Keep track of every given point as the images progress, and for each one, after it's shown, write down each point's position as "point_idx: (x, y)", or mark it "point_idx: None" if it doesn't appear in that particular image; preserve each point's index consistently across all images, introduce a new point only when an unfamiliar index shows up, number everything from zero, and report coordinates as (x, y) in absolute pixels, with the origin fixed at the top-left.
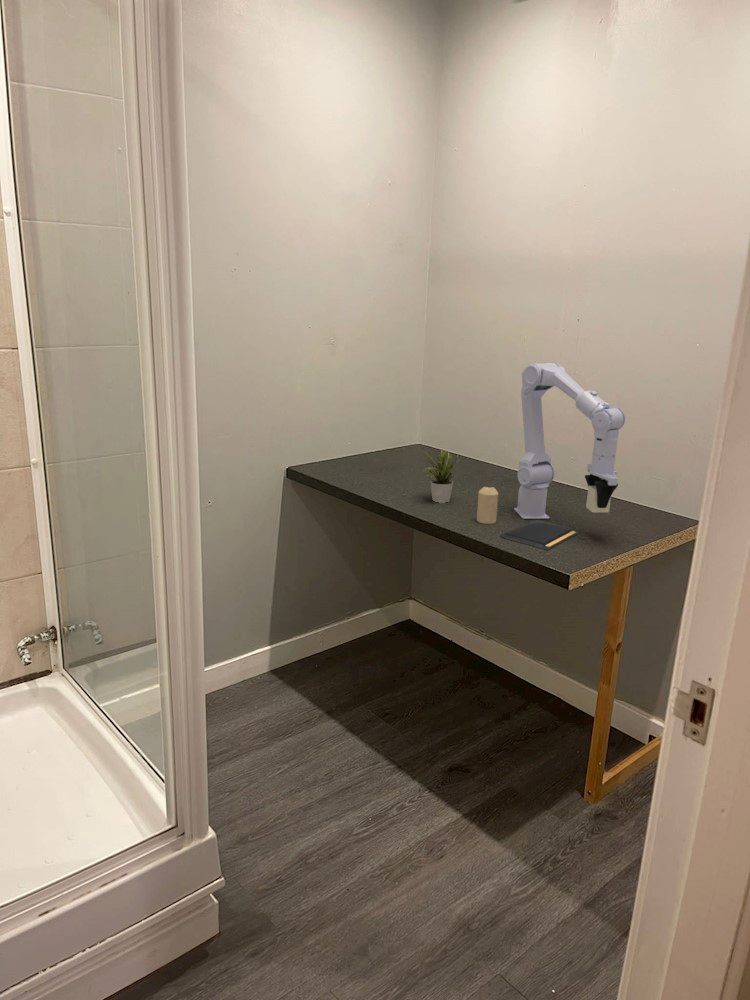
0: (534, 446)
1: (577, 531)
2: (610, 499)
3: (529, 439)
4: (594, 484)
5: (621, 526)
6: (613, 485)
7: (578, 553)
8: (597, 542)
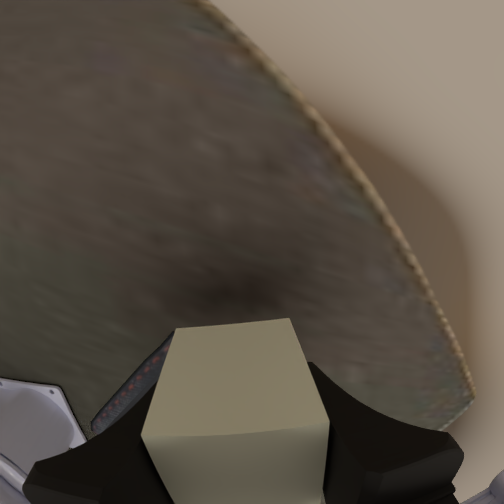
0: None
1: (168, 343)
2: (308, 368)
3: None
4: (162, 501)
5: (77, 138)
6: (448, 471)
7: (383, 378)
8: (287, 301)
